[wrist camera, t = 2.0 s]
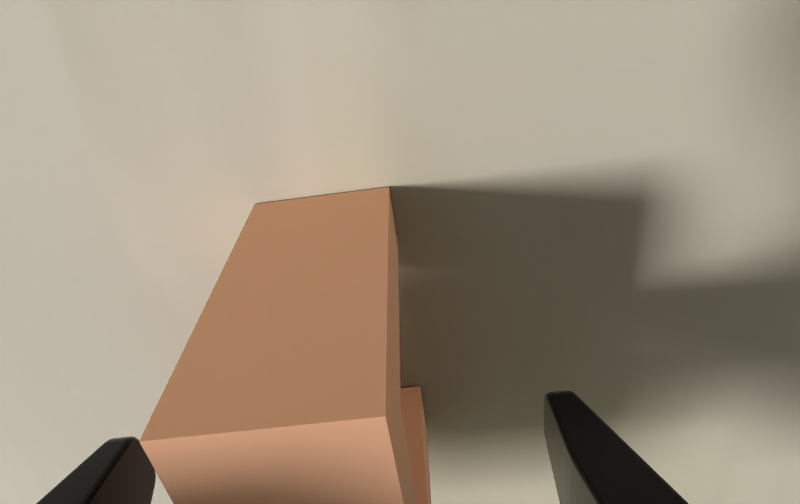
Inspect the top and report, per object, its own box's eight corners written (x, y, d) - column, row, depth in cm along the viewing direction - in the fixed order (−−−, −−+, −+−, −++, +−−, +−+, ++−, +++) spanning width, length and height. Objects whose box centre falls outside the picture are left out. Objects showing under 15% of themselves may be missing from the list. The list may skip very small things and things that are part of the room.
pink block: (426, 424, 13) (444, 695, 8) (323, 434, 13) (286, 707, 8) (388, 186, 10) (386, 416, 5) (254, 204, 10) (138, 441, 5)
